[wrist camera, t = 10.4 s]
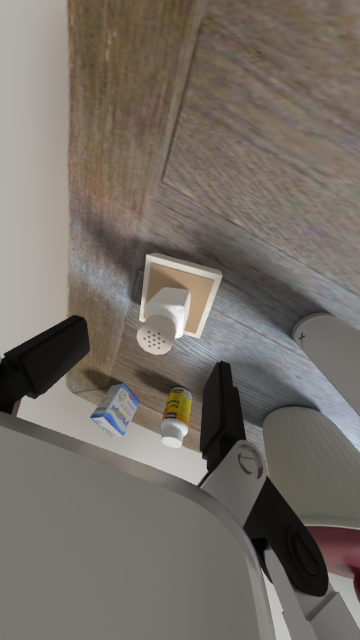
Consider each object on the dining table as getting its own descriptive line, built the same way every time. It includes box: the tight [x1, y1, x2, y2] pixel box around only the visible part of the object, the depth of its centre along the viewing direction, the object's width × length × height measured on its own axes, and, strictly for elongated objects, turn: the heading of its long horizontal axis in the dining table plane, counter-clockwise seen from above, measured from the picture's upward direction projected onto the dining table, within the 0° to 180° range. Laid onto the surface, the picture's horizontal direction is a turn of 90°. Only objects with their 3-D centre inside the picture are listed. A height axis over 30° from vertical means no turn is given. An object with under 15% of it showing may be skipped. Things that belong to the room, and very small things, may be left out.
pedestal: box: [139, 253, 223, 338], centre depth 23 cm, size 10×10×4 cm
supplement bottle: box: [161, 387, 192, 448], centre depth 32 cm, size 6×6×10 cm
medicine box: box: [90, 383, 139, 437], centre depth 37 cm, size 8×4×9 cm, turn 27°
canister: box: [263, 406, 360, 602], centre depth 25 cm, size 18×18×21 cm
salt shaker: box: [136, 287, 191, 354], centre depth 17 cm, size 4×4×10 cm
